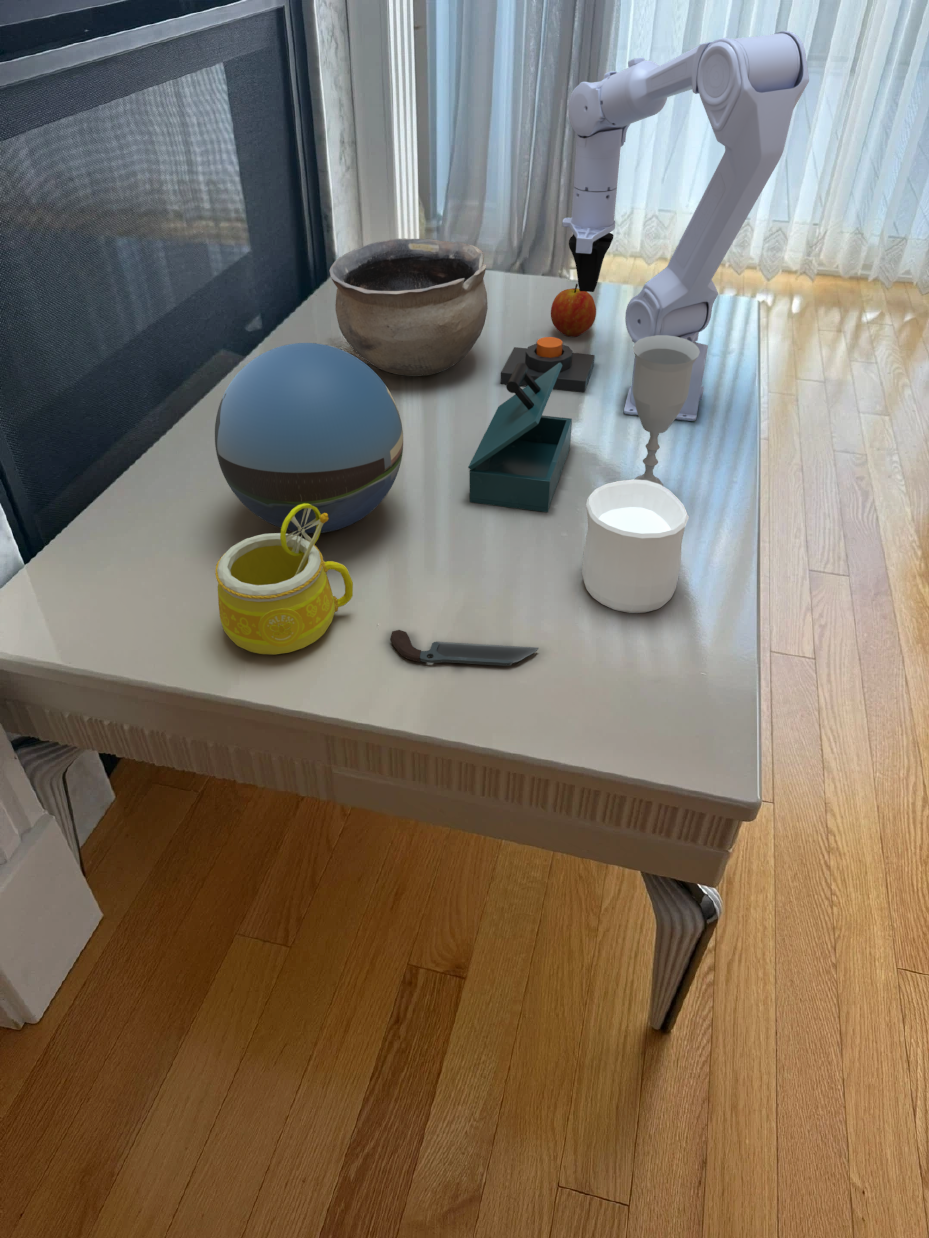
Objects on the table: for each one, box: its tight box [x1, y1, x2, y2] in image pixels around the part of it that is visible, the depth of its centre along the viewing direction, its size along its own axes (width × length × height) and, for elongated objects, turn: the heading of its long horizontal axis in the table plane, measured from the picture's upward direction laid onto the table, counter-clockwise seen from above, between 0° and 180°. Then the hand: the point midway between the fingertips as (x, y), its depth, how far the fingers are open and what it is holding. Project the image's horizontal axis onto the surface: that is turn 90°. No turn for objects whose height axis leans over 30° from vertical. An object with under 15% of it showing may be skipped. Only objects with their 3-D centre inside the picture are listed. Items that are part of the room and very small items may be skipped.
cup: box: [581, 478, 690, 614], centre depth 89 cm, size 10×10×10 cm
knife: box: [389, 629, 540, 667], centre depth 84 cm, size 14×4×1 cm, turn 84°
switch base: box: [500, 342, 596, 393], centre depth 129 cm, size 12×9×4 cm
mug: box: [214, 503, 354, 655], centre depth 84 cm, size 13×11×12 cm
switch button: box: [536, 336, 563, 358], centre depth 127 cm, size 4×4×2 cm
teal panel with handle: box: [467, 363, 562, 471], centre depth 103 cm, size 10×15×4 cm
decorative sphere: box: [214, 342, 404, 534], centre depth 95 cm, size 20×20×20 cm
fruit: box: [550, 283, 597, 338], centre depth 138 cm, size 7×7×8 cm
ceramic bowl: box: [329, 237, 488, 377], centre depth 128 cm, size 22×22×15 cm
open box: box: [468, 414, 573, 513], centre depth 107 cm, size 9×15×4 cm, turn 165°
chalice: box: [632, 335, 700, 487], centre depth 98 cm, size 7×7×18 cm
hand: (587, 290), depth 127 cm, fingers closed
